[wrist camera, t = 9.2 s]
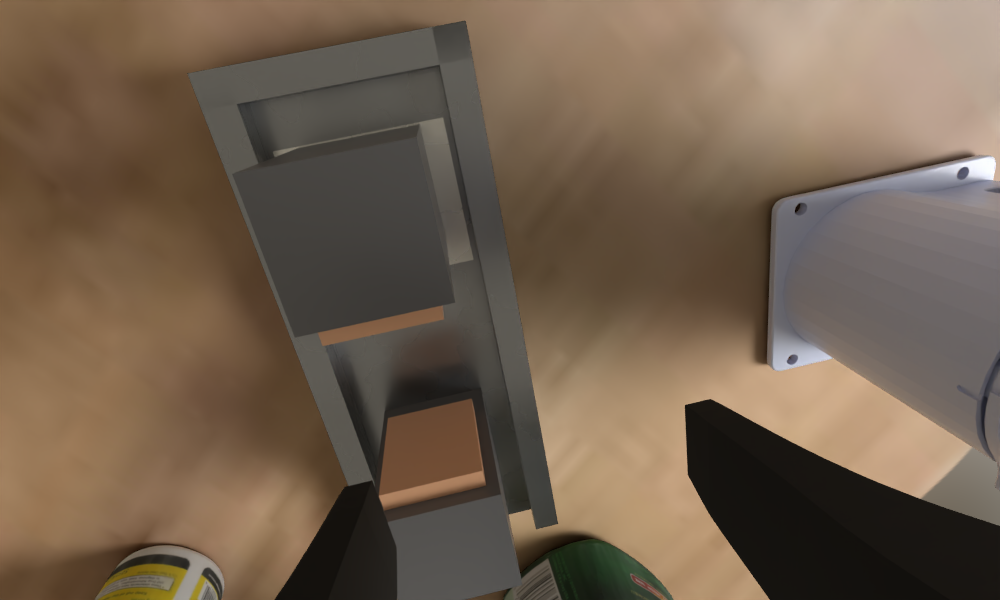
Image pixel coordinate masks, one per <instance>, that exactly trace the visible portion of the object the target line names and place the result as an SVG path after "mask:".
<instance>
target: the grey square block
mask: <svg viewBox="0 0 1000 600" xmlns="http://www.w3.org/2000/svg"><path fill="white" fill-rule="evenodd" d="M232 175H233V178H234V180H235V183H236V185H237V188H238V191H239V193H240V196H241V198H242V201H243V204H244V206H245V209H246V212H247V214H248V217H249V219H250V222H251V225H252V227H253V230H254V232H255V235H256V238H257V240H258V243H259V246H260V248H261V251H262V253H263V256H264V259H265V261H266V264H267V266H268V269H269V272H270V274H271V277H272V280H273V282H274V285H275V287H276V290H277V293H278V295H279V298H280V300H281V303H282V306H283V308H284V311H285V314H286V316H287V319H288V321H289V324H290V327H291V329H292V332H293V334H294V337H295V338H296V337H301V336H305V335H310V334H314V333H318V335H319V338H320V340H321V343H322V346H326V345H330V344H335V343H339V342H344V341H348V340H353V339H358V338H362V337H367V336H371V335H376V334H380V333H385V332H389V331H394V330H398V329H403V328H407V327H412V326H417V325H421V324H426V323H430V322H435V321H439V320H444V313H443V305H447V304H451V303H455V298H454V291H453V284H452V277H451V270H450V263H449V256H448V249H447V242H446V237H445V233H444V228H443V224H442V219H441V215H440V211H439V206H438V202H437V198H436V193H435V189H434V184H433V180H432V176H431V171H430V167H429V163H428V158H427V154H426V149H425V145H424V141H423V136H422V132H421V128H420V124H418V125H413V126H408V127H402V128H397V129H392V130H387V131H382V132H377V133H372V134H367V135H362V136H357V137H352V138H347V139H342V140H337V141H331V142H326V143H321V144H316V145H311V146H306V147H301V148H297V149H294V150H292V151H289V152H287V153H284V154H282V155H279V156H276V157H274V158H271V159H269V160H266V161H264V162H261V163H259V164H256V165H253V166H251V167H248V168H246V169H243V170H241V171H238V172H236V173H233V174H232Z"/></svg>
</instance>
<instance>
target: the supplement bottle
mask: <svg viewBox="0 0 1000 600" xmlns="http://www.w3.org/2000/svg"><path fill="white" fill-rule="evenodd" d="M223 592H224V578H223V575H222V572H221V570H220V569H219V567H218V566H217V565H216V564H215V563H214V562H213V561H212V560H211V559H209V558H208V557H206V556H205V555H203V554H201V553H198V552H196V551H193V550H191V549H187V548H184V547H179V546H172V545H161V546H153V547H148V548H145V549H142V550H139V551H137V552H134V553H133V554H131V555H129V556H128V557H126V558H125V559H124V560H123V561H122V562H121V563H120V564H119V565H118V566H117V567H116V568H115V570H114V571H113V572H112V574H111V575H110V577H109V578H108V580H107V581H106V583H105V585H104V586H103V588H102V589H101V590H100V592H99V594H98V595H97V597H96V598H95V600H221V599H222V595H223Z"/></svg>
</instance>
